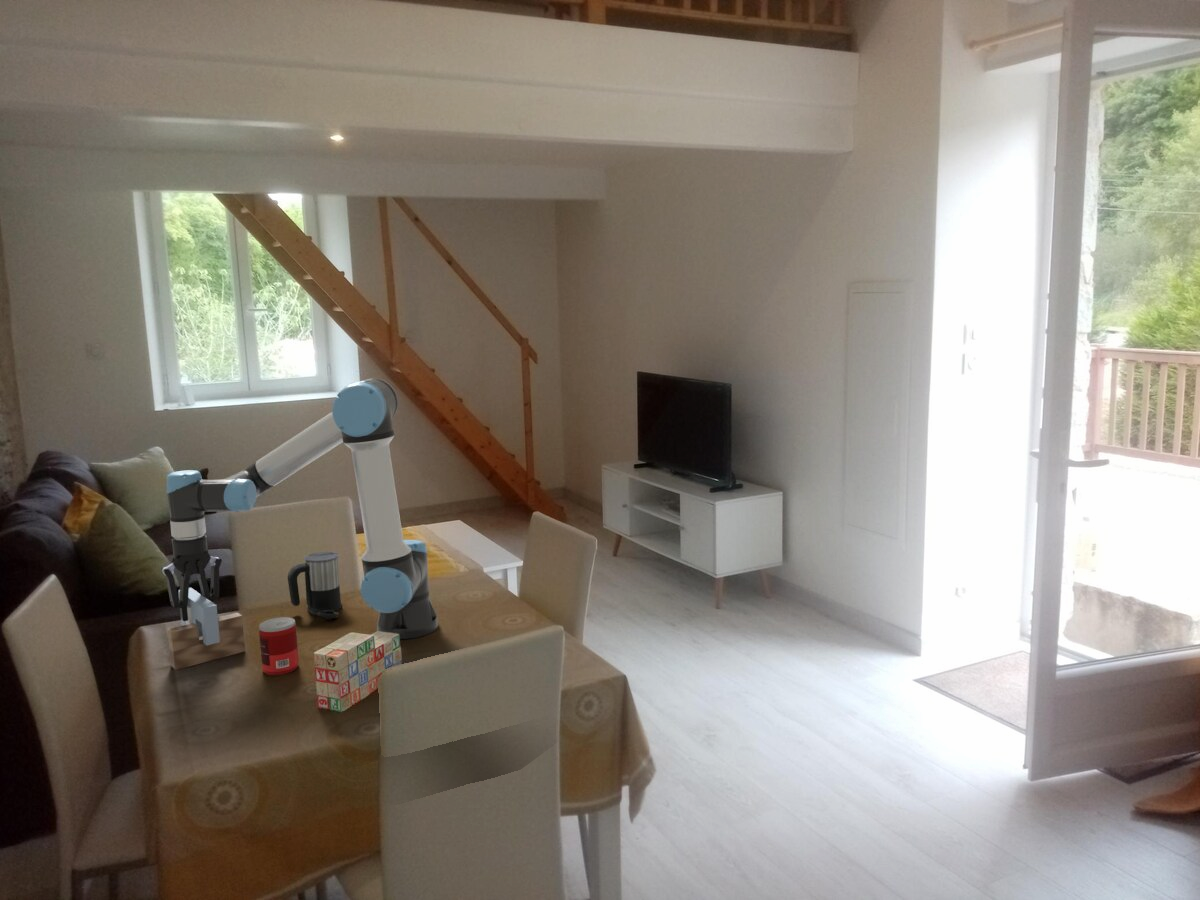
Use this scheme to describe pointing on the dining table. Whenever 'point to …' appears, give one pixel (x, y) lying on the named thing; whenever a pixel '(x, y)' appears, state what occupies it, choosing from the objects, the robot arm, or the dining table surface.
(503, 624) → the dining table surface
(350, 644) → the stack of blocks
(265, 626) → the canned food
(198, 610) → the pale blue flat block
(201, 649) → the light brown wooden block
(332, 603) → the milk frother
